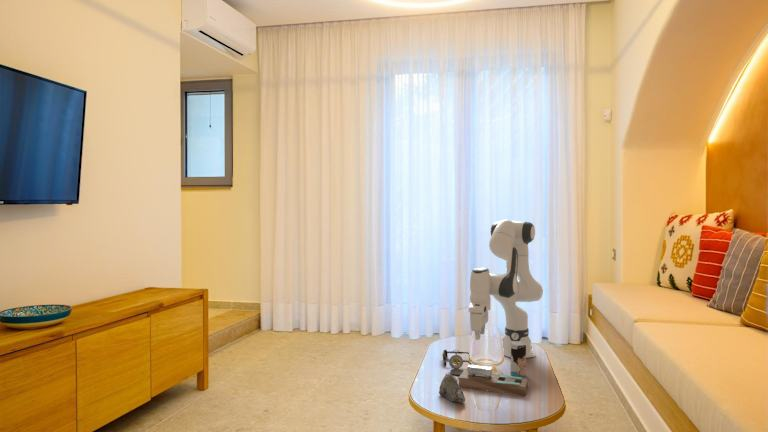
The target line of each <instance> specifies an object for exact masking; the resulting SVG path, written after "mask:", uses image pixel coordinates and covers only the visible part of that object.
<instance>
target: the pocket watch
mask: <svg viewBox="0 0 768 432" xmlns="http://www.w3.org/2000/svg"><path fill="white" fill-rule="evenodd" d="M453 352H454V353H453V354H454V355H452V356H451V357H450V358H449V359H448V360H449V362H448V364H449V366H450V367H451V368H452V369H451V370H450V374H451V375H454V376H455V375H456V376H460V375H461V374H462V373H463V371H464V370H465V369H464V370H463V369H461V367H463V364H464V362H463V361H464V359H463V358H462V356H461V355H460V354H459V355H458V353H457V352H460V351H459V350H458V349H454V350H453ZM458 360H459V362H458Z"/></svg>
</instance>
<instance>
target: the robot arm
mask: <svg viewBox="0 0 768 432" xmlns="http://www.w3.org/2000/svg"><path fill="white" fill-rule="evenodd" d="M535 235H536V228H535V225H534V224H533V223H532V222H530V221H520V220H519V221H518V220H509V219H502V220H498V221H495V222H493V223H492V225H491V227H490V238H489V239H490V240H489V245H488V246H489V250H490V251H491V253H492V254H493V256H495V257H497V258H500V259H502V260H504V261H506V266H505V267H506V273H503V274H501V273H491V272H490V270H489V268H487V267H482V266H481V267H480V266H479V267H474V268H472V270H471V271H470V281H469V289H470V296H469V307H468V313H469V322H470V329H471V330H470V331H472V332H474V336H475V337H474V338H475V341H476V340H477V341H480V339H481V335H485V330H486V324H487V323H488V322H489V311H491V300H492V299H491V296H492V297H493V298H494V299H495V300H496V301H498V302H499V304H500V305H501V306H502V308H503V310H504V314H505V327H504V336H502V337H501V342H502V341H503V348H504V355H503V356H505V357H508V358H511V342H513V341H521V342H525V343H526V359H527V358H535V357H536V353H535V350H534V347H533V346H532V340H531V339H530V337H529V334H530V333H529V332H530V330H529V328H528V327H529V325H528V324H529V323H528V322H529V319H528V318H529V315H528V312H527V311H525V310H524V309H523V308H521V307H519V306H517V304H516V303H517V302H521V303H524V302H525V303H531V302H532V303H533V302H538V301H540V300H541V298H542V297H543V294H544V293H543V292H544V290H543V286H542V285H541V283H540V282H538V280H536V279H535V278H534V277H533V275H532V273H531V271H530V265H529V263H530V262H529V261H530V260H529V244H530V243H531V242H533V241H534V240H535Z"/></svg>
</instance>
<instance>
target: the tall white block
mask: <svg viewBox="0 0 768 432" xmlns="http://www.w3.org/2000/svg"><path fill="white" fill-rule="evenodd" d="M492 368H493V367H491V366H489V367H488V366H484V365H483V366H482V365H476V364H475V365H474V364H472V365H470V364H468V365H467V371H468V374H469V376H470V377H474V374H475V375H482V376H485V379H490V377H491V375H492V374H493V369H492Z"/></svg>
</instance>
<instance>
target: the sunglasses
mask: <svg viewBox="0 0 768 432" xmlns="http://www.w3.org/2000/svg"><path fill="white" fill-rule="evenodd" d="M453 351H454V350H453ZM453 351H447V349H444V350H443V351H442V360H443V364H444V366H447V363H449V360H450V359H448V356H449V355H448V354H455V353H454V352H455V351H454V352H453ZM456 352H457V355H458V354H459V355H461V354H468V355H469V353H470V352H467V351H459V352H458V351H456ZM458 363H460V362H459V360H458ZM463 363H469V364H468V365H473V364H472V363H471V361H469V360H463Z"/></svg>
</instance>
